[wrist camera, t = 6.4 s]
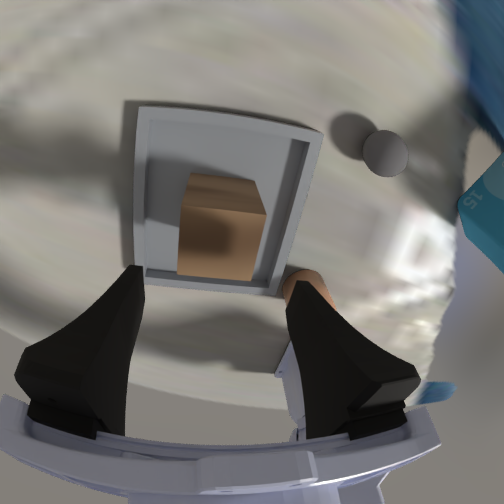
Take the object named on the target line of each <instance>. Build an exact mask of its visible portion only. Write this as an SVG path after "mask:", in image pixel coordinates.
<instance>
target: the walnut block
mask: <svg viewBox="0 0 504 504" xmlns="http://www.w3.org/2000/svg"><path fill="white" fill-rule="evenodd" d="M266 217H267V214H266V211H265V208H264V205H263V203H262V200H261V197H260V194H259V191H258V189H257V186H256V183H255V181H253V180H246V179H239V178H231V177H224V176H216V175H207V174H198V173H190V177H189V180H188V183H187V187H186V190H185V193H184V197H183V200H182V204H181V213H180V226H179V241H178V259H177V275H187V276H198V277H208V278H219V279H231V280H243V281H251V279H252V274H253V270H254V266H255V262H256V258H257V254H258V250H259V246H260V242H261V238H262V234H263V229H264V225H265V221H266Z"/></svg>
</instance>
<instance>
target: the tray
mask: <svg viewBox="0 0 504 504" xmlns="http://www.w3.org/2000/svg"><path fill="white" fill-rule="evenodd" d="M323 137H324V134H323V133H321V132H319V131H317V130H313V129H309V128H305V127H301V126H297V125H293V124H288V123H284V122H279V121H274V120H269V119H264V118H259V117H253V116H247V115H241V114H235V113H228V112H221V111H213V110H205V109H196V108H186V107H173V106H158V105H143V106H139V110H138V120H137V130H136V142H135V158H134V181H133V234H134V258H135V265H138V266H143V275H144V284H147V285H156V286H165V287H175V288H185V289H195V290H206V291H217V292H229V293H242V294H255V295H270V296H276V293H277V290H278V287H279V284H280V281H281V278H282V275H283V271H284V268H285V265H286V262H287V259H288V256H289V253H290V250H291V246H292V243H293V240H294V237H295V233H296V230H297V227H298V224H299V220H300V217H301V214H302V210H303V207H304V204H305V200H306V197H307V194H308V190H309V187H310V183H311V180H312V176H313V173H314V169H315V166H316V162H317V159H318V155H319V151H320V148H321V144H322V140H323ZM190 173H198V174H207V175H216V176H224V177H231V178H239V179H246V180H253V181H255V183H256V186H257V189H258V191H259V194H260V197H261V200H262V203H263V205H264V208H265V211H266V214H267V217H266V221H265V225H264V229H263V234H262V238H261V242H260V246H259V250H258V254H257V258H256V262H255V266H254V270H253V274H252V279H251V281H243V280H231V279H219V278H208V277H198V276H187V275H177V259H178V241H179V226H180V213H181V204H182V200H183V197H184V193H185V190H186V187H187V183H188V180H189V177H190Z"/></svg>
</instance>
